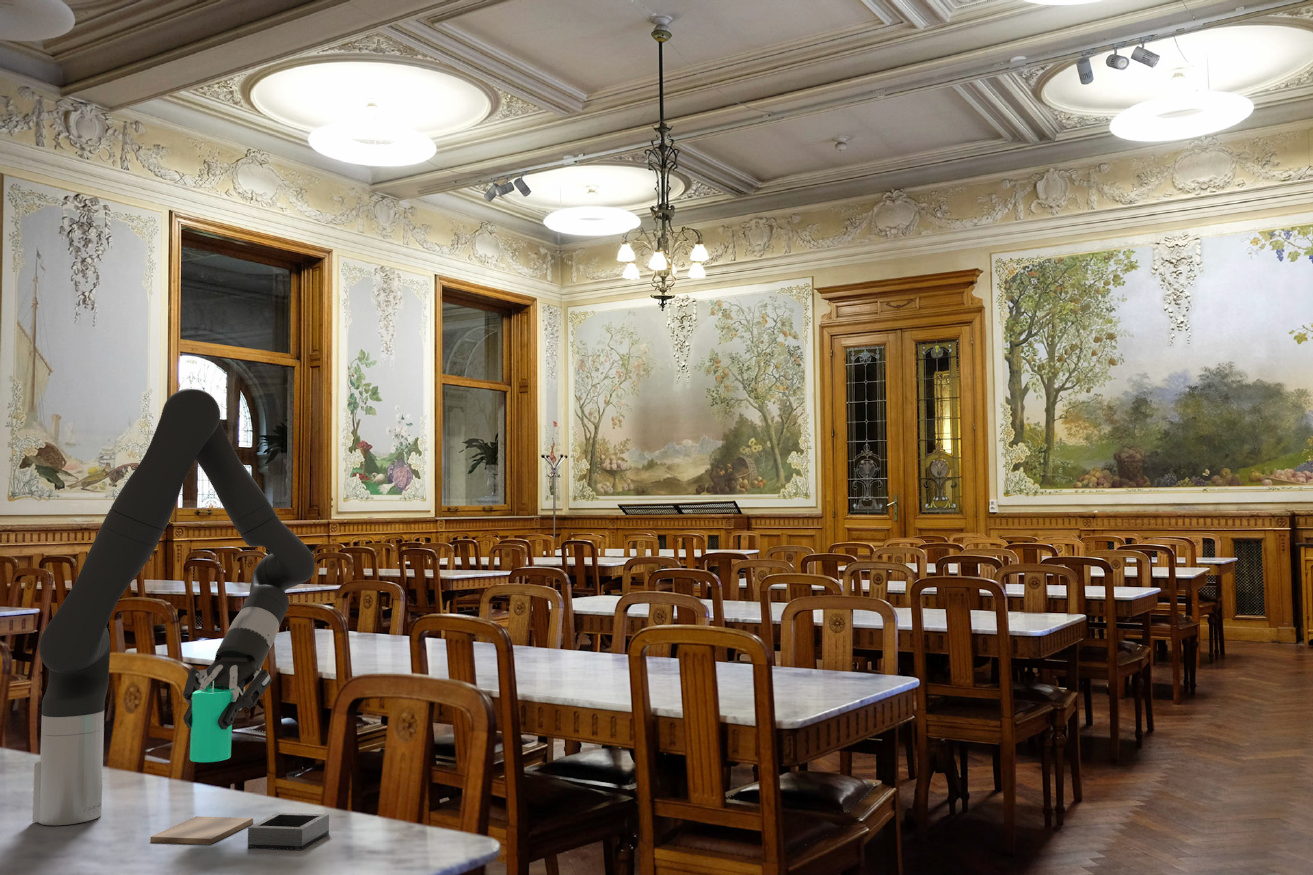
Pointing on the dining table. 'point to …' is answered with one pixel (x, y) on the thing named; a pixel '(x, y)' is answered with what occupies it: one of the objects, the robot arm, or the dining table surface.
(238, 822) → the walnut board
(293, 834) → the box
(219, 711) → the candle
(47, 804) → the robot arm
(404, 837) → the dining table surface
